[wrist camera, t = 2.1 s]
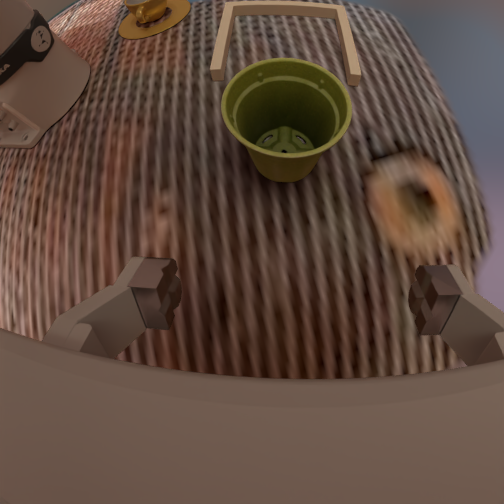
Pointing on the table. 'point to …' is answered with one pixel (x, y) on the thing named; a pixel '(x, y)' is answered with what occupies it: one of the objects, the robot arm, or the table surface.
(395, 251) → the table surface
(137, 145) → the table surface
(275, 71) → the plant pot
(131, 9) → the cup
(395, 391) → the robot arm
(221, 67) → the frame
